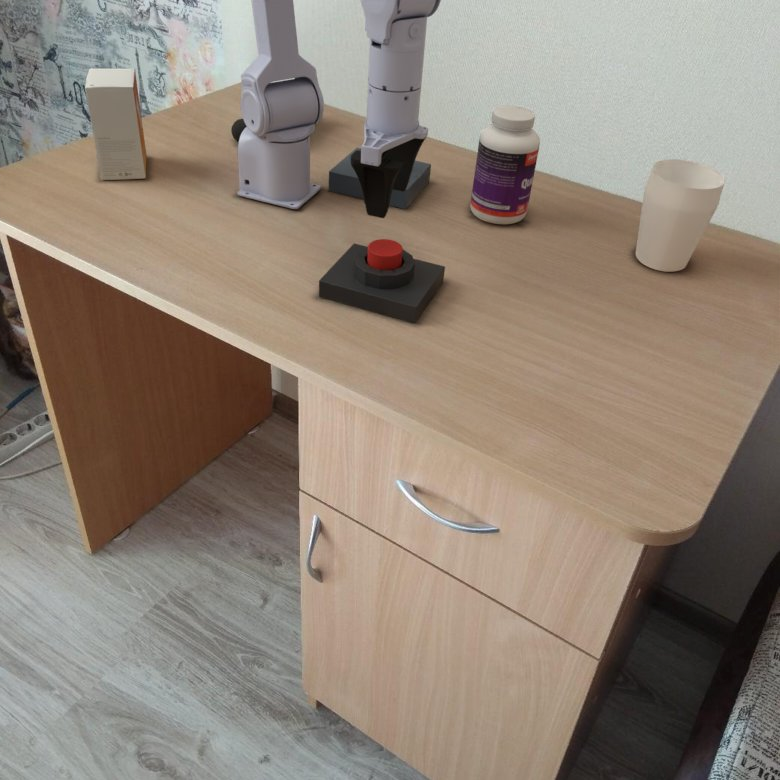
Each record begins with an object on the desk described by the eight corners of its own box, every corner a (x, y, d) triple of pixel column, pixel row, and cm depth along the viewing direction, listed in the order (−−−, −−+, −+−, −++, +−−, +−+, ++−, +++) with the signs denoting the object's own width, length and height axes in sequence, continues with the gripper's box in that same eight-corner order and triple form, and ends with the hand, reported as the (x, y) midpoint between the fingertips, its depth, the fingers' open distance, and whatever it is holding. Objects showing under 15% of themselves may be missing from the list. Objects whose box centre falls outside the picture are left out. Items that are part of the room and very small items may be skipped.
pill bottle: (523, 231, 106) (543, 128, 97) (465, 222, 107) (480, 119, 98) (527, 206, 112) (546, 106, 103) (472, 198, 113) (486, 98, 104)
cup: (696, 251, 105) (726, 167, 97) (694, 283, 98) (726, 195, 91) (629, 237, 107) (653, 153, 99) (622, 267, 100) (648, 180, 93)
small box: (147, 179, 111) (133, 86, 103) (100, 181, 110) (83, 87, 101) (147, 156, 117) (135, 67, 109) (103, 157, 116) (87, 67, 108)
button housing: (318, 296, 90) (318, 266, 88) (353, 258, 98) (354, 229, 95) (415, 323, 87) (418, 293, 85) (443, 282, 95) (447, 253, 92)
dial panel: (328, 190, 112) (328, 170, 110) (356, 166, 119) (357, 146, 117) (405, 209, 109) (407, 188, 107) (429, 183, 116) (431, 162, 114)
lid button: (361, 266, 89) (362, 250, 88) (375, 251, 92) (375, 235, 91) (393, 275, 88) (395, 259, 87) (406, 259, 91) (407, 243, 90)
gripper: (410, 111, 76) (400, 235, 85) (448, 70, 87) (436, 184, 96) (343, 99, 78) (340, 222, 86) (388, 61, 89) (382, 173, 97)
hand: (387, 201), depth 91 cm, fingers open, 7 cm apart
